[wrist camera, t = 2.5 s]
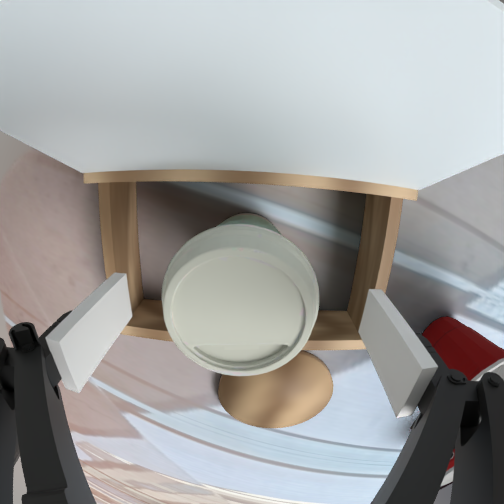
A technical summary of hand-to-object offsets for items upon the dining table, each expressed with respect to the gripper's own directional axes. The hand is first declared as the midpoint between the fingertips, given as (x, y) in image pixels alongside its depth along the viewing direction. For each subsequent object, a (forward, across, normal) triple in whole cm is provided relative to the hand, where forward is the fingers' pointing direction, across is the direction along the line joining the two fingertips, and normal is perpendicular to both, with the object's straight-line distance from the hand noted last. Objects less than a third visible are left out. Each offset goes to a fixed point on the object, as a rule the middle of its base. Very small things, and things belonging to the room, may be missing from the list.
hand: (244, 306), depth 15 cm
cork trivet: (+11, +4, -17) cm, 21 cm away
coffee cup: (+11, 0, 0) cm, 11 cm away
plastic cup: (+11, +23, -10) cm, 27 cm away
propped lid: (+11, 0, +9) cm, 14 cm away
